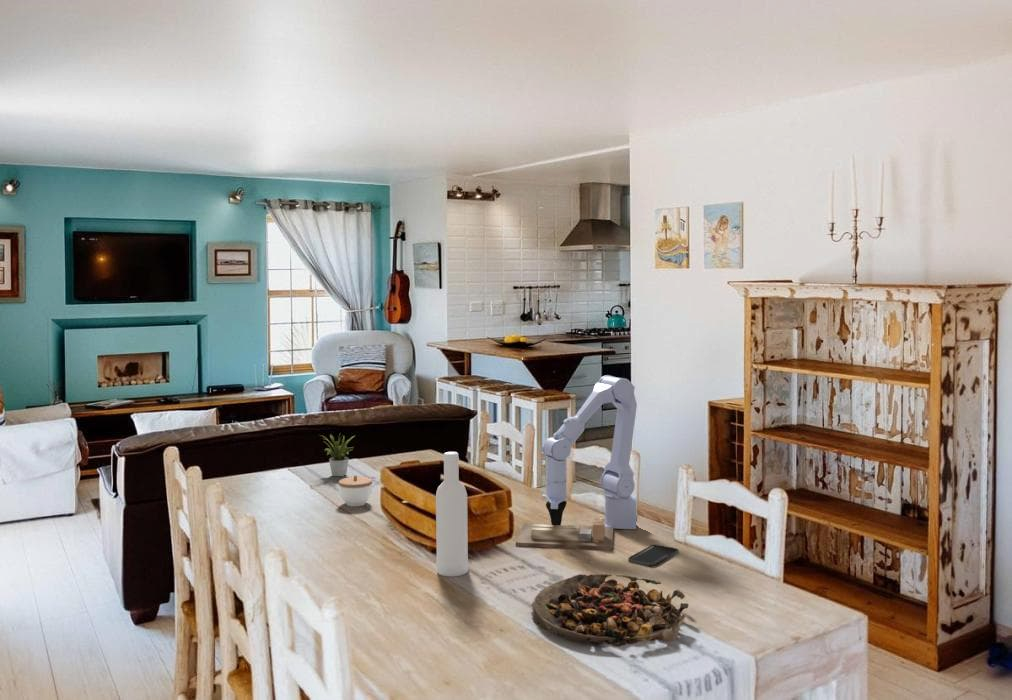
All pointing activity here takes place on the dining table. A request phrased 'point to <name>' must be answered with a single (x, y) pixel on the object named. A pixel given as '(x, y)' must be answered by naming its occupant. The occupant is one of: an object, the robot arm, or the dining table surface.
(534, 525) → the bar
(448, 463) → the bottle
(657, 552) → the phone
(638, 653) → the dining table surface
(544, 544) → the tongs base
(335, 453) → the house plant
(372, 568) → the dining table surface
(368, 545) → the dining table surface
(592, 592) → the food dish
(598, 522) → the brown rectangular block
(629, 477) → the robot arm
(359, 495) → the lidded jar
